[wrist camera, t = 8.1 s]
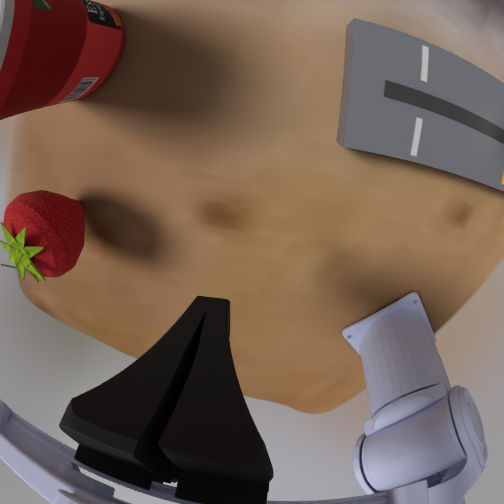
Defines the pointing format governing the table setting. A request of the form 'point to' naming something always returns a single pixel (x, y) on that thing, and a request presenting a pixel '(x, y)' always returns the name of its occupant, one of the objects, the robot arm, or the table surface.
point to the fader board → (420, 104)
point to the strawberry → (43, 233)
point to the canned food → (55, 51)
